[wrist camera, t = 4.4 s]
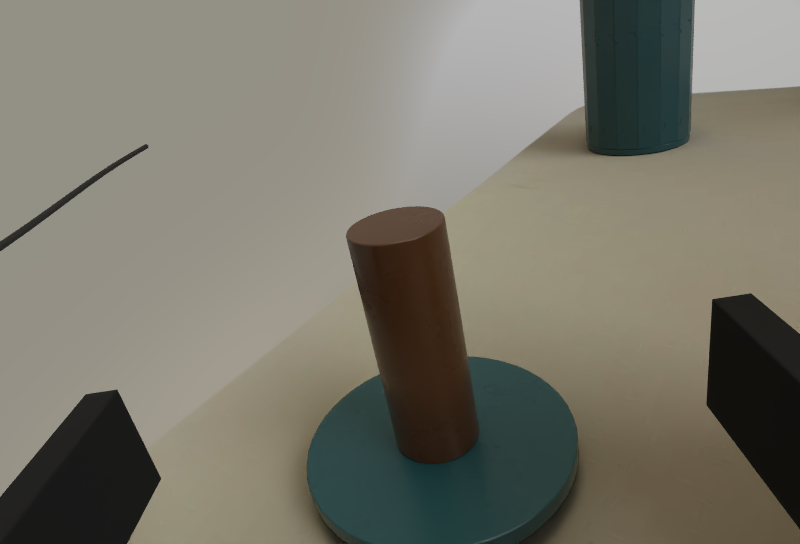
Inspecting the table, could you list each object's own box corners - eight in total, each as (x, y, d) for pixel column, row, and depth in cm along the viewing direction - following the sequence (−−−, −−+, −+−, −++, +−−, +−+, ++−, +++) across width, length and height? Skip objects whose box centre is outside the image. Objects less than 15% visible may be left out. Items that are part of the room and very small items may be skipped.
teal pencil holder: (570, 144, 52) (561, -3, 47) (648, 124, 53) (648, -21, 48) (623, 161, 45) (619, -11, 39) (712, 137, 46) (720, -33, 41)
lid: (303, 420, 23) (237, 219, 19) (508, 356, 24) (483, 156, 20) (334, 631, 15) (229, 350, 11) (641, 516, 16) (639, 231, 12)
